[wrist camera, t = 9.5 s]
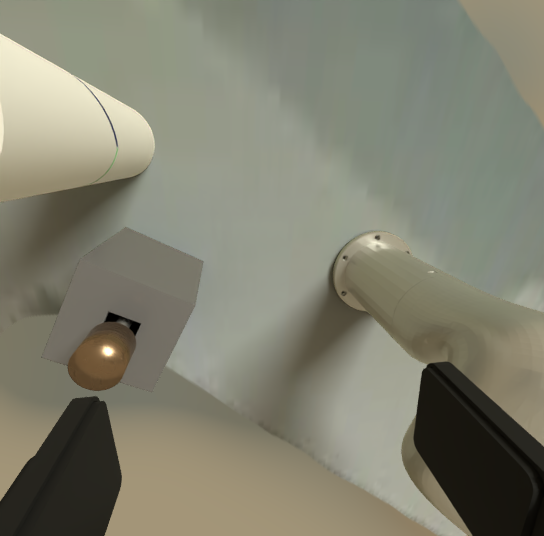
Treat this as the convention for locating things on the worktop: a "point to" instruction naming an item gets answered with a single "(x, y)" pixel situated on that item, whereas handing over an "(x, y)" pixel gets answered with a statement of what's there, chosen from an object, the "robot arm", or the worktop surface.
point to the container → (62, 129)
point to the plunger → (103, 355)
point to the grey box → (129, 301)
